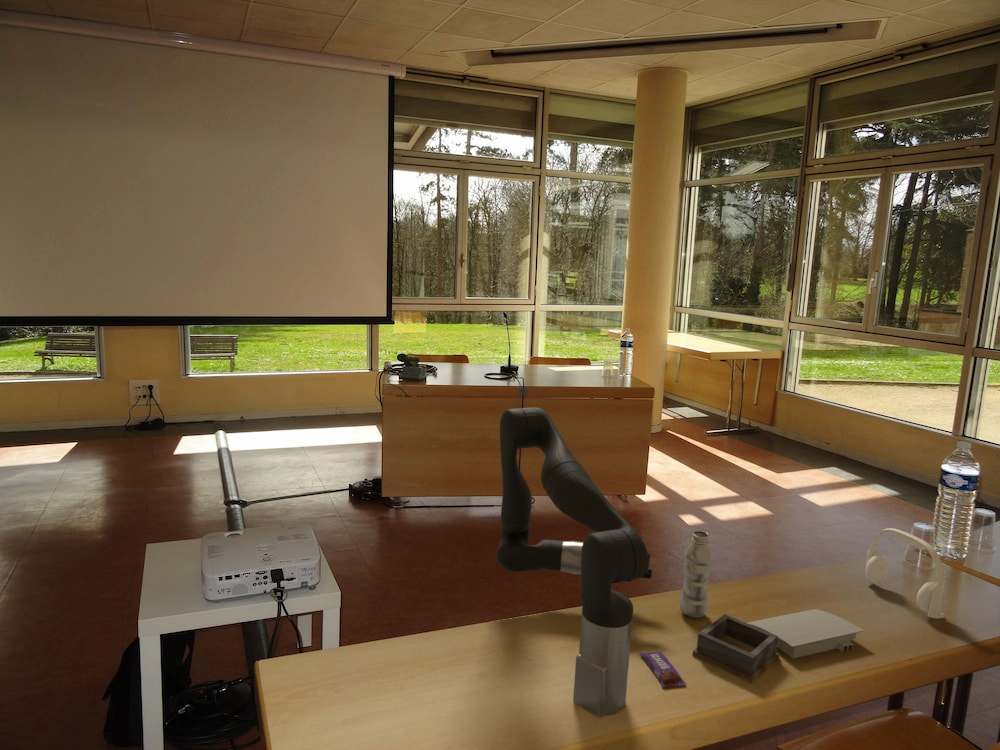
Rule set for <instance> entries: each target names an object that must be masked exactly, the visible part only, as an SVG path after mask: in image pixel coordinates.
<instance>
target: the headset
mask: <svg viewBox="0 0 1000 750" xmlns="http://www.w3.org/2000/svg"><path fill="white" fill-rule="evenodd" d="M887 533H889V534H890V536H891V537H893V538H895V539H898V540H901V541H903V542H905V543H907V544H909V545H912V546H914V547H916V548H917V549H920V550H926V551H928V553H929V554H930V556H931V557H932V561H933V564H934V568H935V574H936V582H935V581H927V582H926V583H924V584H923V585H922V586H921V587H920V588H919V590H918V592H917V595H916V605H917V606H918V608H919V609H921V611H924V612H927V616H928V617H929V618H932V619H944V618H945V614H944V613H942V612H941V604H942V601H943V599H944V598H943V596H944V594H945V588H946V583H945V579H944V578H945V577H944V570H943V565H942V561H941V558H940V555H939V554H938V552H937V551H936V549H935V548H934V547H933V546H932V545H931V544H930V543H928V542H927V541H926V540H924V539H922V538H920V537H918V536H916V535H913V534H910V532H909V533H908V532H906V531H904V530H900V529H898V528H894V527H891V528H889V527H887V528H884V529H882V530H881V531H879V532H878V533H877V534H876V536H875V537H874V539H873V540H872V543H871V545H870V548H869V550H868V551H867V553H866V562H865V563H866V564H865V579H864V580H865V583H867V584H869V585H875V584H881V583H882V582H884V581H885V579H886V578H887V576H888V574H889V572H890V571H889V570H890V569H889V568H890V567H889V562H888V560H887V558H886V557H884V556H883V555H881V554H878V550H877V548H878V545H879V543H880V541H881V540H882V538H883V536H885V535H886V534H887Z"/></svg>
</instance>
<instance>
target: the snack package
mask: <svg viewBox="0 0 1000 750" xmlns="http://www.w3.org/2000/svg"><path fill="white" fill-rule="evenodd" d="M639 655H640V656H641V658H642V659H643V661H644V662H645V663H646V664H647V666H648V668H649V669H650V670H651V672H652V673H653V675H654V676H655V678H656V679H657V680H658V682H659V683H660V685H661V686H662V687H663V688H670V687H679V686H687V683H686V682H685V681H684V679H683V678H682V677H681V675H680V674H679V672H678V670H676V668H675V667H674V666H673V664H672V662H671V661H670V660H669V659H668V658H667V656H666V655H665V654H664V653H663V652H662V651H654V652H643V653H641V652H640V653H639Z"/></svg>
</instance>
